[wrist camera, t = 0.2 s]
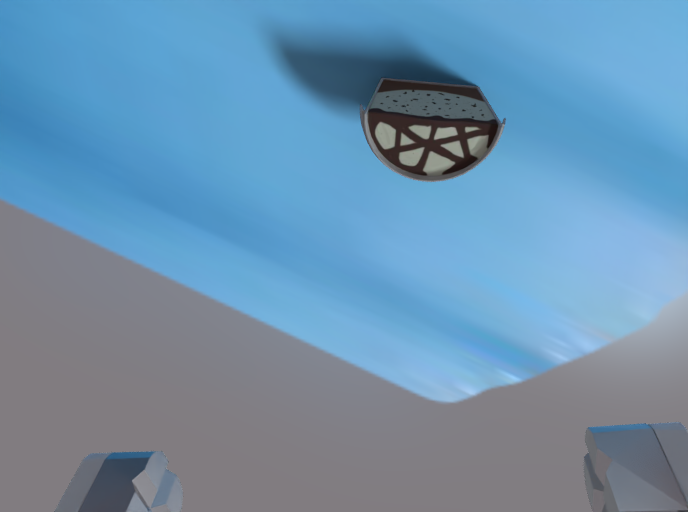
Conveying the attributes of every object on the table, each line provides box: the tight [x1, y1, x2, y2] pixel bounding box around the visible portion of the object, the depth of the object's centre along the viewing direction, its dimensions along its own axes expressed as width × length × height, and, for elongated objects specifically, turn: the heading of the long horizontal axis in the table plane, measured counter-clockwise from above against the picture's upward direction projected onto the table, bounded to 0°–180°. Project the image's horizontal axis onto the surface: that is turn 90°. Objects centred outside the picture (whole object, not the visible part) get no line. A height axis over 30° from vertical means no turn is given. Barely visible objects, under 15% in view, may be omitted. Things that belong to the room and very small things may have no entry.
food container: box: [360, 78, 506, 182], centre depth 52 cm, size 12×6×10 cm, turn 86°
